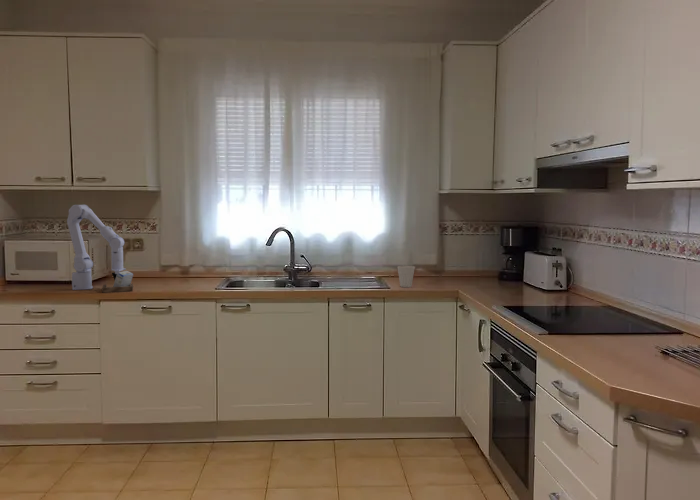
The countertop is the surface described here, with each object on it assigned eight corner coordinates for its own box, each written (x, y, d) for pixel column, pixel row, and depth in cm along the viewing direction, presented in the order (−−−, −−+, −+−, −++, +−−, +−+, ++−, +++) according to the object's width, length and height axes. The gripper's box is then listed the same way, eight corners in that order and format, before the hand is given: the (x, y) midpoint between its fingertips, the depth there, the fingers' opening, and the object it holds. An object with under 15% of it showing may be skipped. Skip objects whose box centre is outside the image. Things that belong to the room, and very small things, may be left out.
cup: (409, 285, 333) (410, 265, 332) (418, 287, 324) (418, 267, 323) (393, 285, 330) (393, 266, 329) (401, 288, 320) (401, 268, 319)
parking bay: (102, 292, 302) (102, 287, 302) (103, 289, 313) (103, 284, 313) (132, 291, 307) (132, 286, 307) (133, 288, 318) (133, 283, 317)
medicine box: (122, 285, 317) (127, 270, 315) (129, 288, 316) (133, 273, 314) (112, 287, 310) (116, 272, 308) (119, 290, 308) (123, 275, 307)
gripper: (125, 261, 308) (125, 287, 309) (126, 258, 322) (126, 283, 323) (110, 261, 306) (111, 288, 307) (111, 258, 319) (112, 284, 321)
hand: (118, 285), depth 315 cm, fingers closed, pressing on medicine box
